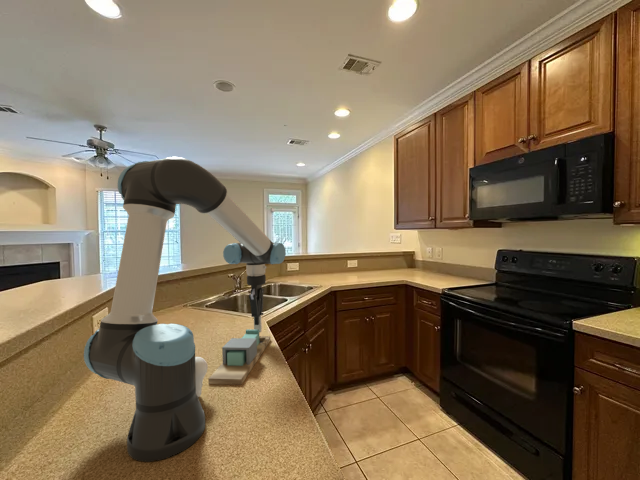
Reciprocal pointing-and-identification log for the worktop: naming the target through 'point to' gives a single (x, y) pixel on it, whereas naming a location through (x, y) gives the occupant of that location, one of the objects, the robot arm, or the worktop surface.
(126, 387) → the worktop surface
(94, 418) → the worktop surface
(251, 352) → the tunnel
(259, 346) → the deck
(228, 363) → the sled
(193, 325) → the worktop surface
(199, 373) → the lightbulb
